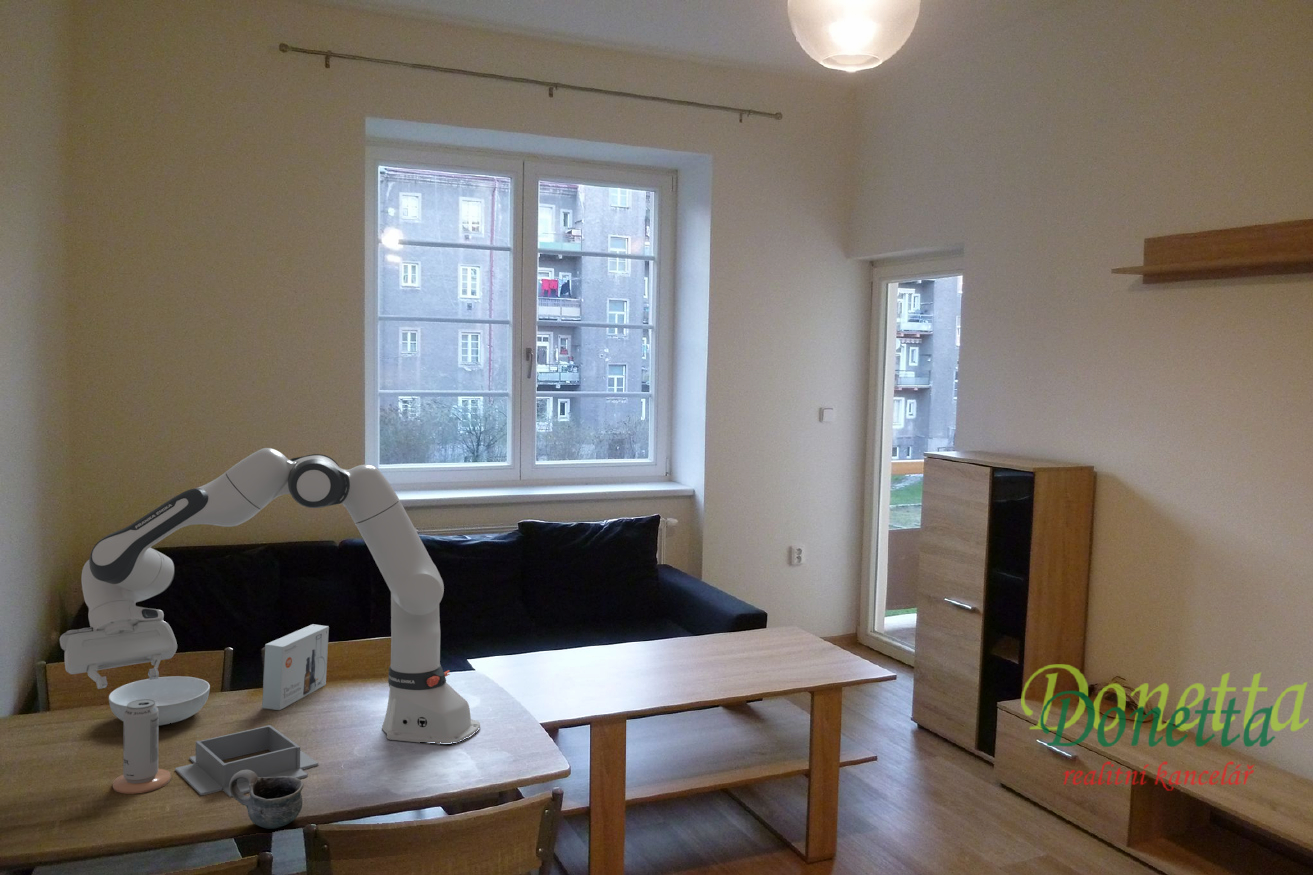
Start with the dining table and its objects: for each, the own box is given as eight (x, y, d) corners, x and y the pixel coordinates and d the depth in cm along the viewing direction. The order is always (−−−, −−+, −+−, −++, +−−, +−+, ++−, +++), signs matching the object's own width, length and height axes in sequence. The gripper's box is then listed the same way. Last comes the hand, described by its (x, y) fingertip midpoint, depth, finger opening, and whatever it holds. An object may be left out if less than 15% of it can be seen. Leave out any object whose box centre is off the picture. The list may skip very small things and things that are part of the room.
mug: (301, 833, 170) (302, 778, 170) (225, 841, 167) (225, 785, 166) (304, 809, 180) (305, 757, 179) (231, 816, 176) (231, 763, 175)
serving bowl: (86, 726, 216) (86, 696, 216) (164, 699, 236) (164, 671, 235) (155, 742, 209) (156, 711, 208) (230, 712, 228) (230, 683, 228)
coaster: (182, 777, 191) (182, 773, 191) (139, 797, 182) (139, 793, 182) (144, 769, 195) (144, 765, 195) (100, 788, 185) (100, 784, 185)
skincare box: (281, 711, 230) (282, 646, 229) (261, 709, 231) (262, 644, 230) (328, 684, 251) (329, 624, 250) (309, 682, 252) (310, 623, 251)
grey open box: (281, 738, 213) (281, 716, 213) (326, 771, 197) (327, 747, 196) (168, 764, 198) (168, 740, 197) (208, 803, 181) (208, 777, 180)
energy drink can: (127, 773, 190) (127, 699, 190) (160, 770, 192) (161, 697, 191) (120, 786, 185) (120, 709, 184) (154, 783, 187) (155, 707, 186)
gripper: (60, 623, 191) (72, 684, 185) (170, 609, 205) (185, 665, 199) (55, 640, 194) (67, 700, 188) (163, 625, 209) (178, 681, 202)
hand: (129, 682), depth 193 cm, fingers open, 8 cm apart
